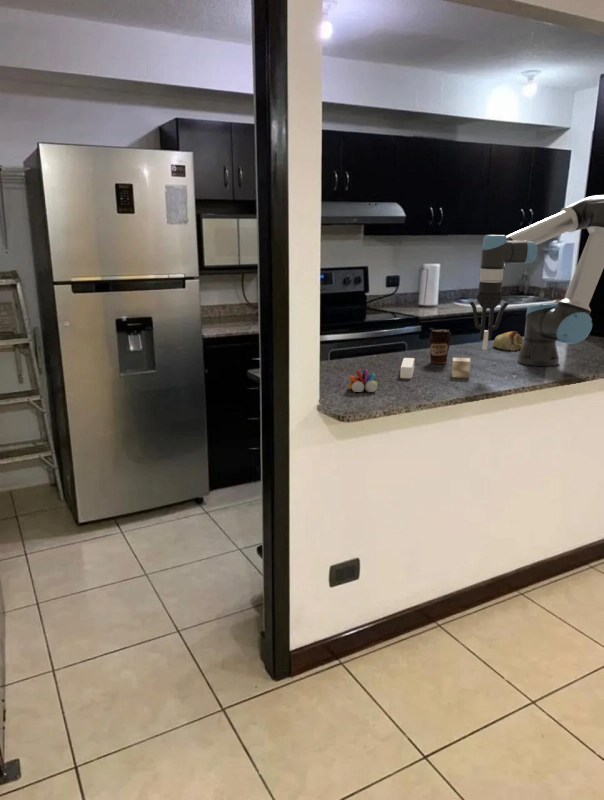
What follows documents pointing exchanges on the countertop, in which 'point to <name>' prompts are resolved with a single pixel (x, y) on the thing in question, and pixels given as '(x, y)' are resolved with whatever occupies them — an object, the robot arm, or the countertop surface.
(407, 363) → the white rectangular bar
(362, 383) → the rainbow fan toy
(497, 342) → the pastry
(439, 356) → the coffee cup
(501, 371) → the countertop surface
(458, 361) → the block
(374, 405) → the countertop surface
